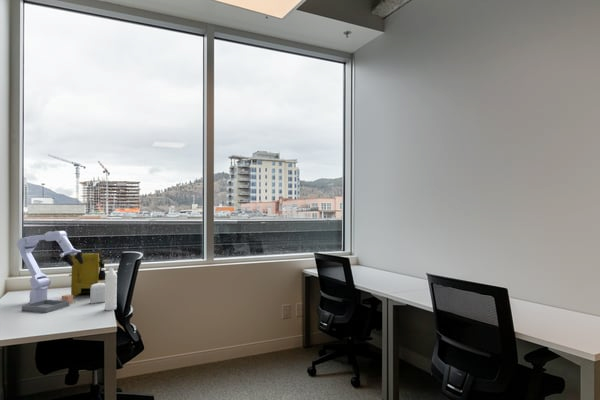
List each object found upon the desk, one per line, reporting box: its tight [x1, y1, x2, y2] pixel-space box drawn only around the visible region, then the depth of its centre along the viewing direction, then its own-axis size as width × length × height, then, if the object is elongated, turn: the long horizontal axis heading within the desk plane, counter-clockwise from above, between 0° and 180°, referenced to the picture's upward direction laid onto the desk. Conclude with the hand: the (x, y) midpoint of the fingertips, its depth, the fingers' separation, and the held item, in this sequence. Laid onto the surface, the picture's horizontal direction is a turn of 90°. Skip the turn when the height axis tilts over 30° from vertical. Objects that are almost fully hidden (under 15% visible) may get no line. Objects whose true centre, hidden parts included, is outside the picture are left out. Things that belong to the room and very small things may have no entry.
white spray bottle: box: [101, 267, 118, 311], centre depth 226 cm, size 9×6×25 cm
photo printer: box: [89, 282, 105, 304], centre depth 243 cm, size 10×4×12 cm, turn 123°
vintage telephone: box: [68, 253, 110, 298], centre depth 265 cm, size 31×14×30 cm, turn 92°
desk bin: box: [21, 299, 70, 314], centre depth 227 cm, size 18×16×3 cm
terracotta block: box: [61, 294, 74, 305], centre depth 241 cm, size 5×4×5 cm
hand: (77, 264), depth 237 cm, fingers open, 7 cm apart
